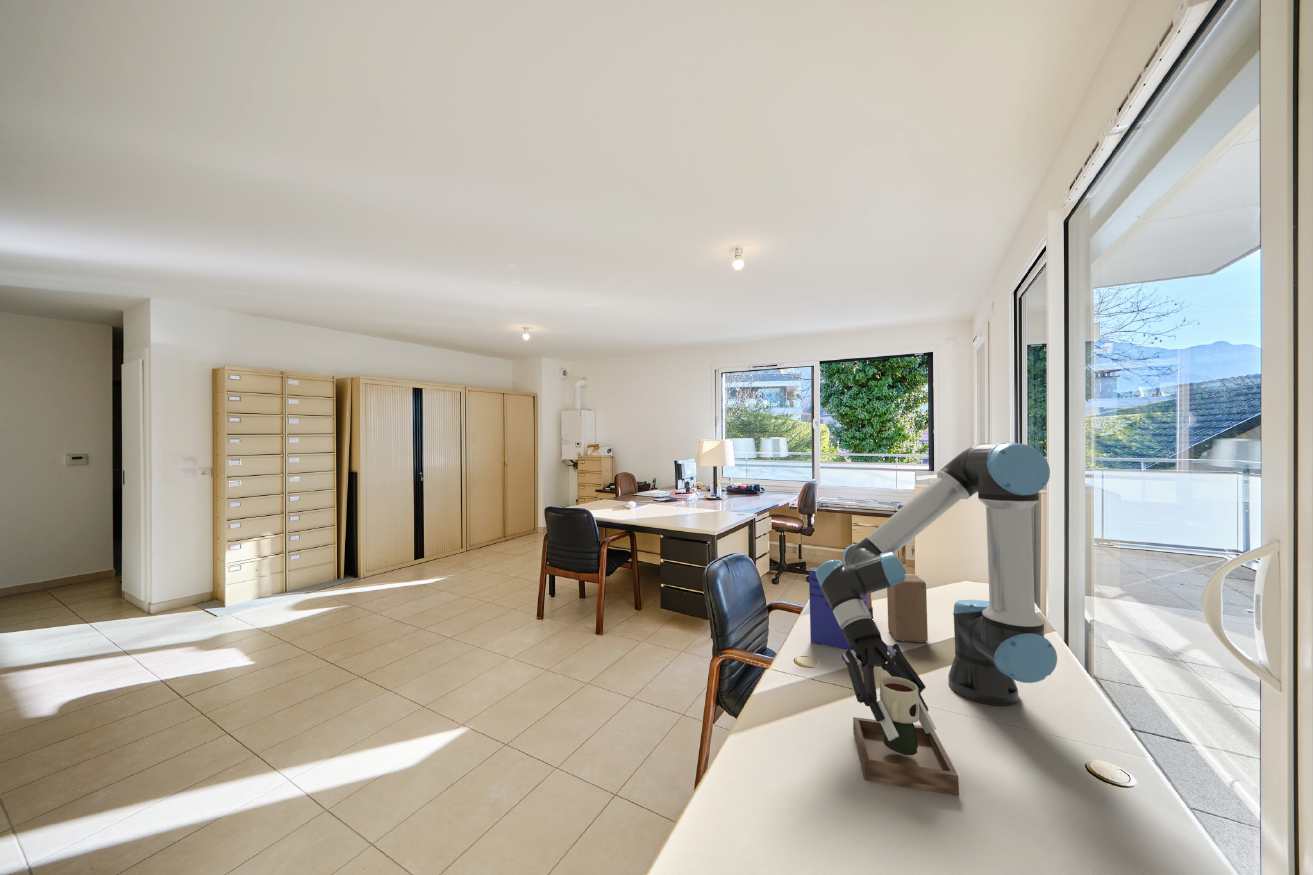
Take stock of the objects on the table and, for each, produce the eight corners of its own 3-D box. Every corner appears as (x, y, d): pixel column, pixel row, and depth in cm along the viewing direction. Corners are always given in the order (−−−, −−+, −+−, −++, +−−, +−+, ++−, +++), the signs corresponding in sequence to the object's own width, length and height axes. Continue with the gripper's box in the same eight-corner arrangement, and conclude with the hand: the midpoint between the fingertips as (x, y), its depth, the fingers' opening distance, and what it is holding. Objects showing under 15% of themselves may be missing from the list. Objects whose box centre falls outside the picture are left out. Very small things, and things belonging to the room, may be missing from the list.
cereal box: (869, 648, 152) (868, 572, 153) (867, 653, 148) (865, 576, 149) (814, 637, 161) (812, 566, 162) (810, 642, 157) (808, 569, 158)
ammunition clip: (860, 628, 170) (859, 594, 170) (855, 626, 171) (854, 593, 171) (873, 620, 177) (872, 588, 177) (868, 619, 178) (867, 587, 178)
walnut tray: (933, 743, 103) (932, 726, 103) (959, 795, 87) (958, 775, 87) (853, 732, 107) (853, 716, 107) (864, 780, 91) (864, 761, 92)
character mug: (916, 770, 91) (914, 700, 91) (876, 756, 95) (874, 690, 95) (923, 741, 99) (921, 678, 100) (886, 729, 104) (884, 669, 104)
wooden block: (928, 643, 155) (927, 582, 156) (895, 641, 157) (894, 580, 158) (918, 632, 165) (916, 574, 166) (887, 630, 167) (885, 573, 168)
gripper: (887, 627, 115) (945, 732, 99) (810, 636, 110) (858, 749, 94) (903, 612, 110) (966, 720, 94) (823, 621, 105) (876, 737, 89)
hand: (912, 734), depth 94 cm, fingers closed on character mug, 8 cm apart
